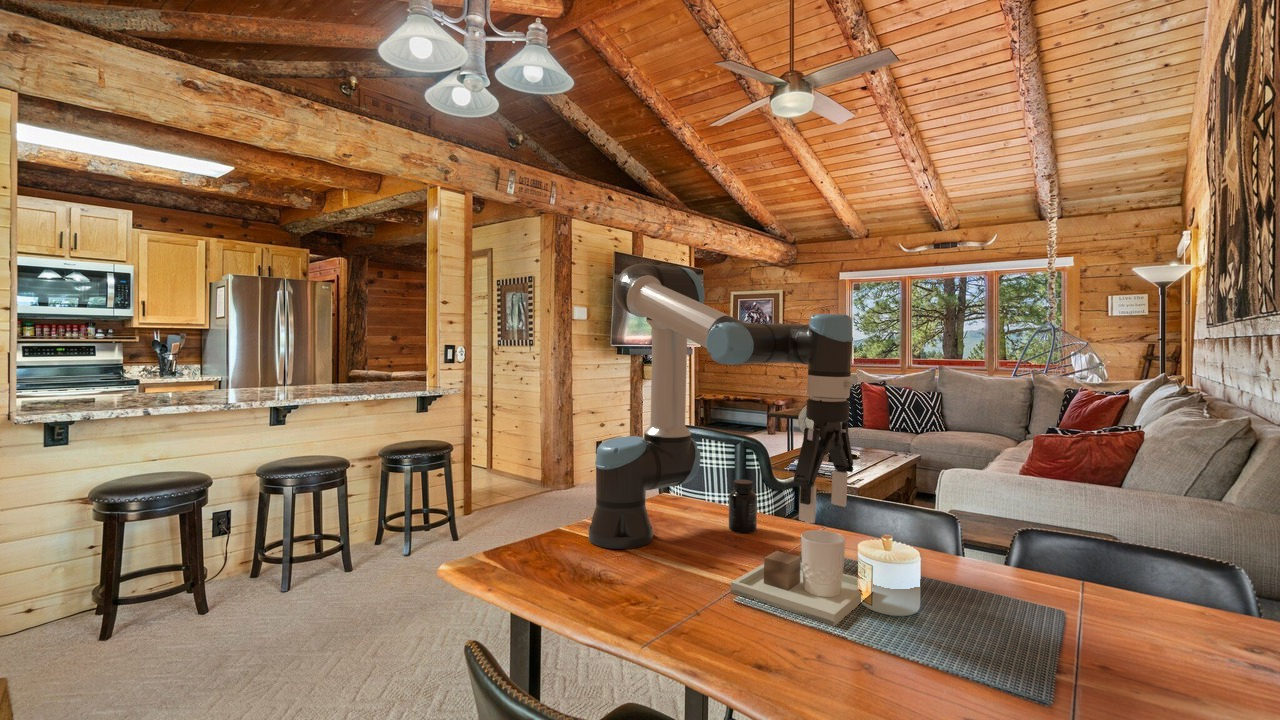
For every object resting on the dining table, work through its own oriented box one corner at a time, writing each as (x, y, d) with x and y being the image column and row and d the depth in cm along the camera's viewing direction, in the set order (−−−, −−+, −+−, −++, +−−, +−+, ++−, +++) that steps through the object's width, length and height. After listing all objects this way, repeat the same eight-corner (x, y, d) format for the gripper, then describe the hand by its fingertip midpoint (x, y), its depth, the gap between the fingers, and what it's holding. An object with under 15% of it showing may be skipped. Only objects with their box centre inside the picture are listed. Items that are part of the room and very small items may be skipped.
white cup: (850, 599, 109) (851, 544, 109) (805, 598, 109) (806, 543, 109) (837, 581, 117) (838, 530, 116) (796, 580, 117) (796, 529, 117)
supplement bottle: (753, 525, 155) (753, 478, 154) (759, 534, 148) (760, 484, 147) (726, 525, 154) (726, 478, 154) (731, 534, 147) (732, 485, 147)
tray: (730, 592, 114) (730, 582, 113) (777, 565, 127) (777, 556, 127) (834, 626, 100) (834, 614, 100) (873, 592, 114) (874, 581, 114)
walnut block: (763, 583, 116) (764, 557, 116) (776, 575, 120) (776, 550, 120) (787, 590, 113) (788, 564, 112) (800, 582, 116) (800, 556, 116)
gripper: (817, 406, 100) (812, 534, 101) (873, 395, 119) (869, 502, 120) (776, 402, 105) (771, 523, 106) (836, 391, 123) (832, 495, 125)
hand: (823, 512), depth 113 cm, fingers open, 13 cm apart
